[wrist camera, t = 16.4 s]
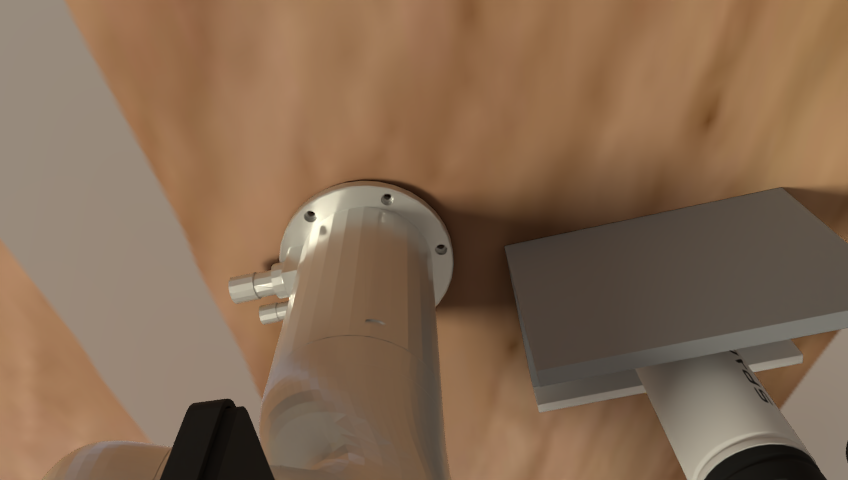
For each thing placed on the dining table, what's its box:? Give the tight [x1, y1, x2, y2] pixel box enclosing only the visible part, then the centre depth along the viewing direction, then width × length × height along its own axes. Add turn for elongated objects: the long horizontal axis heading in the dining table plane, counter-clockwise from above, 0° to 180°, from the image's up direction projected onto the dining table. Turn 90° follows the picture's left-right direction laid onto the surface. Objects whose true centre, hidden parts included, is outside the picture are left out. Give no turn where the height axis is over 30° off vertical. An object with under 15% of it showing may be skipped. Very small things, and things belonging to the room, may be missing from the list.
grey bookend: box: [504, 187, 848, 413], centre depth 46 cm, size 20×13×14 cm, turn 103°
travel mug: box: [635, 349, 827, 480], centre depth 41 cm, size 6×7×20 cm
